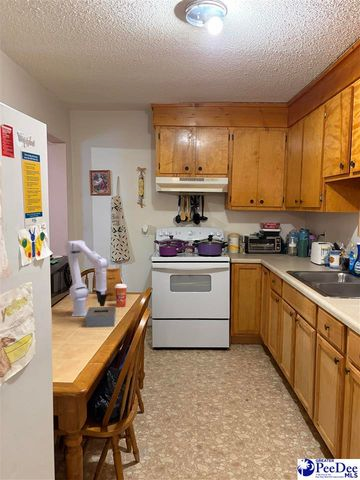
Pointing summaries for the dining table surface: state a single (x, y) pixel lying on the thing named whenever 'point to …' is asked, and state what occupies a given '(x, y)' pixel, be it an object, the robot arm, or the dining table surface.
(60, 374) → the dining table surface
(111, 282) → the coffee package
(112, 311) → the coin box
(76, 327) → the dining table surface
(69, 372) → the dining table surface
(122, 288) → the paper cup
